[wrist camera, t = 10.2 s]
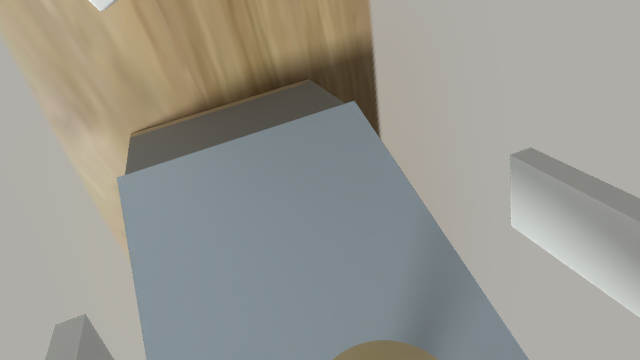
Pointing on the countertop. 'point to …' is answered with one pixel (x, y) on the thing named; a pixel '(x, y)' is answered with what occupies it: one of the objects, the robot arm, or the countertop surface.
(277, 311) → the flap
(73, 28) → the countertop surface
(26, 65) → the countertop surface
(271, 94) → the carton
